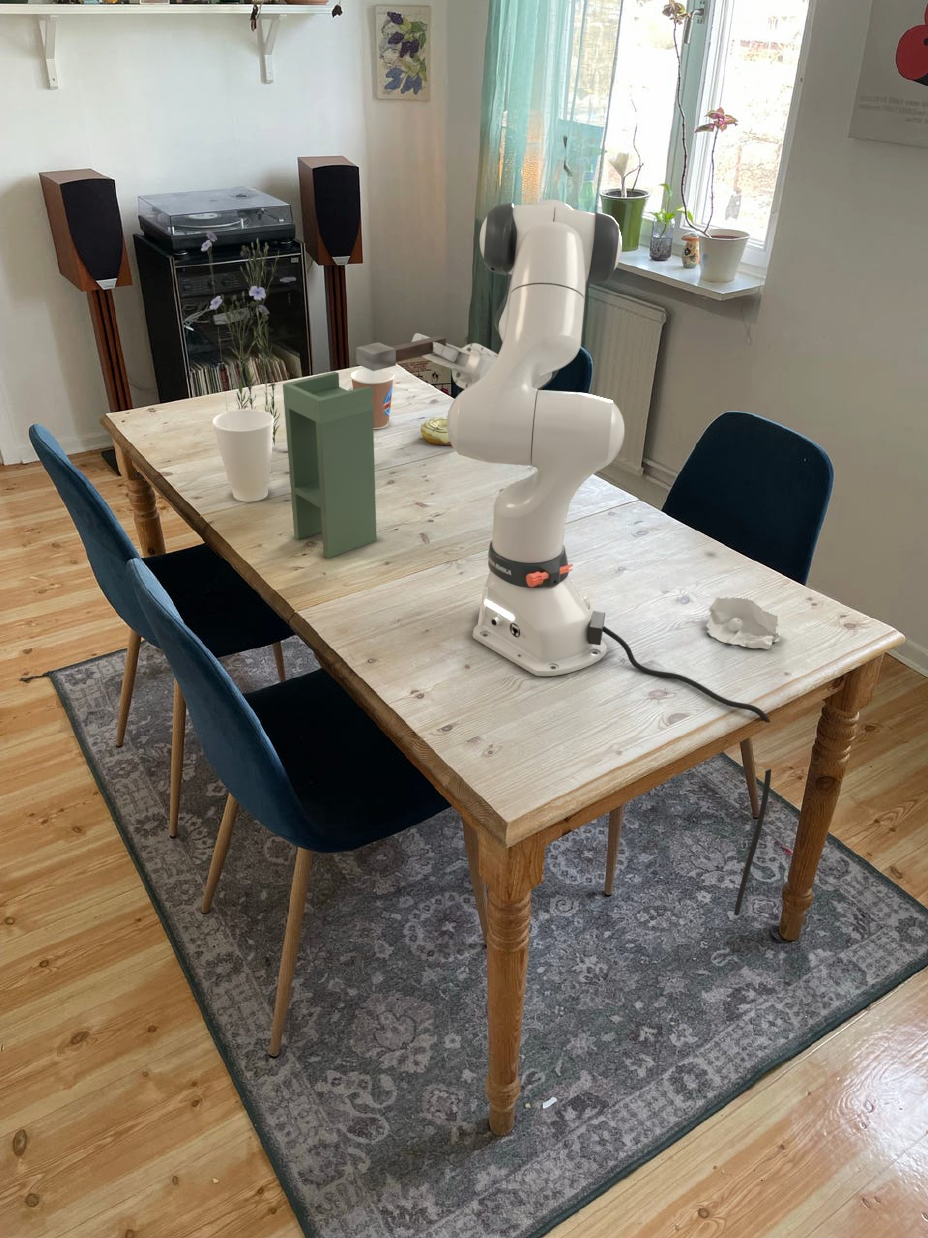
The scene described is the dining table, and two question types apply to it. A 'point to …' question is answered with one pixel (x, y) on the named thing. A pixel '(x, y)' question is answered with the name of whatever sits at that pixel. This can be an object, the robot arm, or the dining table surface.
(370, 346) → the mallet
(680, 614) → the dining table surface
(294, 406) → the stand
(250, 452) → the cup
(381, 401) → the coffee cup
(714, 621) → the jagged white shell
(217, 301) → the wildflower
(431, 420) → the decorated donut
